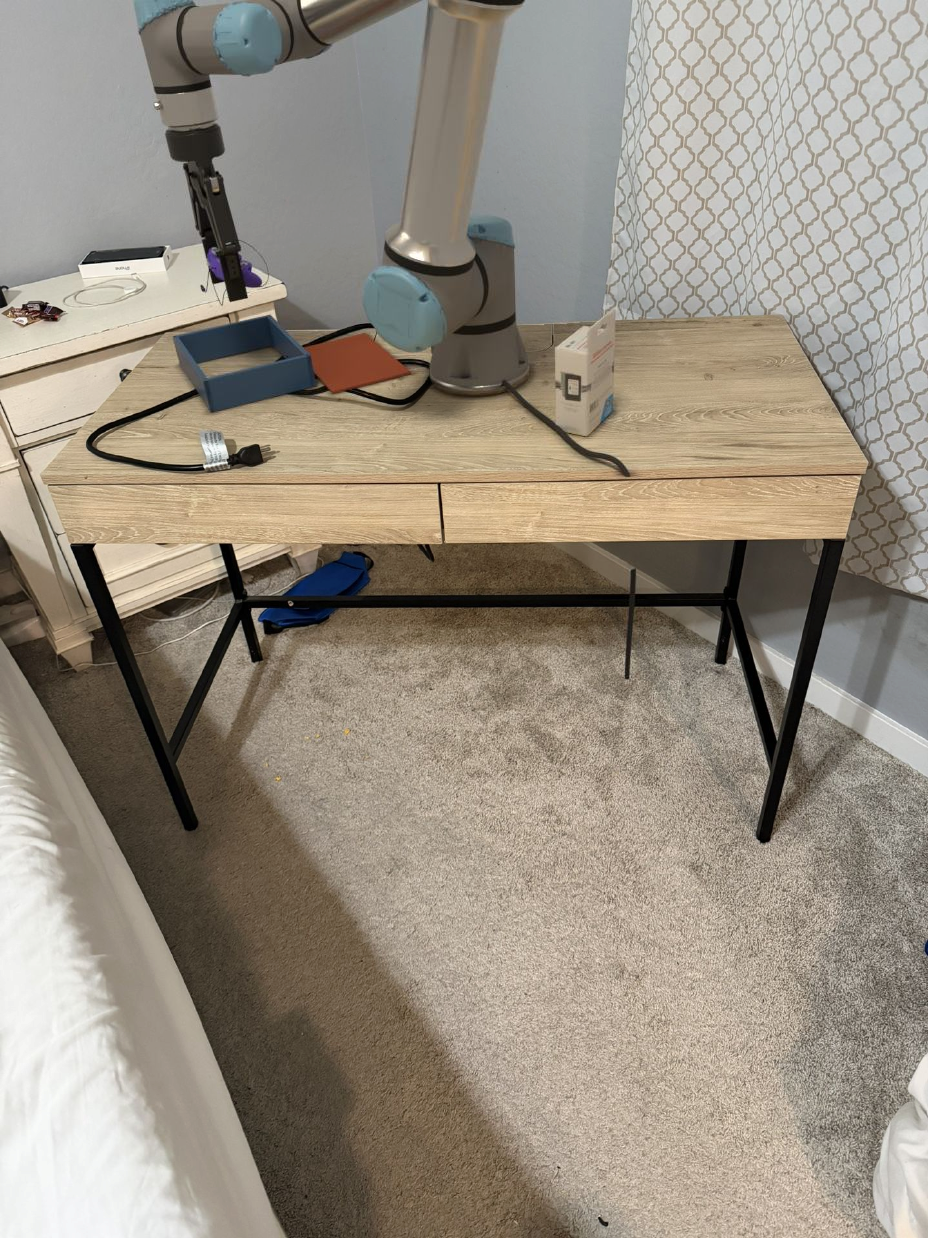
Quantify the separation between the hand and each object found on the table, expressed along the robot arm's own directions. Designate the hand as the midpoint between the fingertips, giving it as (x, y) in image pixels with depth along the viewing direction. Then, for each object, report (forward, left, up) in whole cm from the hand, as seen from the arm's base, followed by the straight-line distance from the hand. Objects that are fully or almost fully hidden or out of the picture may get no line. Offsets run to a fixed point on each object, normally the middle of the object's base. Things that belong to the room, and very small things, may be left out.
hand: (229, 290), depth 139 cm
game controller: (0, 0, -1) cm, 1 cm away
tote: (0, 0, -14) cm, 14 cm away
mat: (-5, -16, -14) cm, 21 cm away
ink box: (-44, -36, -14) cm, 58 cm away
